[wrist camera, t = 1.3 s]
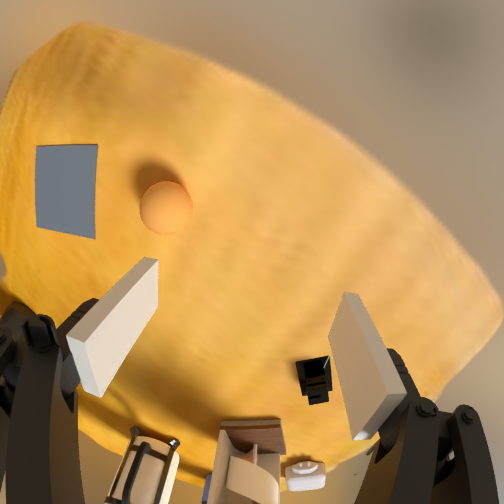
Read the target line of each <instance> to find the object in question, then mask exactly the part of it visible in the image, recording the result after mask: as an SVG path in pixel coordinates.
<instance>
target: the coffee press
mask: <svg viewBox="0 0 504 504" xmlns="http://www.w3.org/2000/svg"><path fill="white" fill-rule="evenodd" d="M134 429H135V431H136V433H137V435H138V436H136V437H135V431H134ZM130 430H131V436H132V438H131V440H130V442H129V444H128V446H127V448H126V451H125V453H124V456H123V458H122V461H121V463H120V466H119V468H118V471H117V473H116V476H115V478H114V481H113V483H112V486H111V488H110V491H109V493H108V496H107V497H106V498H105V501H104V504H168V502H169V498H170V494H171V490H172V486H173V482H174V479H175V475H176V471H177V467H178V464H179V461H180V456H179V454H178V453H177V451H176V449H177V447H178V446H179V445H180V442H179V441H178V440H176V439H173V440H171V441H170V442H169V443H167V444H166V443H164V442H162V441H159V440H157V439H154V438H150V437H145V436H142V435H141V433H140V431H139V428H138V427H132V428H131V429H130Z"/></svg>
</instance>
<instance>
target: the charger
mask: <svg viewBox="0 0 504 504" xmlns="http://www.w3.org/2000/svg"><path fill="white" fill-rule="evenodd" d="M325 475H326V473H325V464H324V463H321V462H318V463H315V462H311V461H306V462H299V463H297V464H295V465H291V466H288V467H286V468H285V479H286V483H287V486H288V490H290V491H301V490H311V489H318V488H322V487H323V486H324V484H325Z"/></svg>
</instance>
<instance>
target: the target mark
mask: <svg viewBox="0 0 504 504" xmlns="http://www.w3.org/2000/svg"><path fill="white" fill-rule="evenodd" d="M97 152H98V145H59V146H38V147H36V163H35V206H36V223H37V227H39V228H44V229H49V230H53V231H58V232H63V233H68V234H73V235H78V236H83V237H87V238H92V239H95V181H96V164H97Z"/></svg>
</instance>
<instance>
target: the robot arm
mask: <svg viewBox="0 0 504 504" xmlns="http://www.w3.org/2000/svg"><path fill="white" fill-rule="evenodd" d="M157 308H158V259H153V258H148V257H144V258H143V259H142V260H140V261H139V262H138V263H137V264H136V265H135V266H134V267H133V268H132V269H131V270H130V271H129V272H128V273H127V274H126V275H125V276H123V277H122V278H121V279H120V280H119V281H118V282H117V283H116V284H115V285H114V286H113V287H112V288H111V289H110V290H109V291H108V292H107V293H106V294H105V295H104V296H103V297H102V298H101V299H100V300H98V299H95V298H92V299H90V300H88V301H86V302H84V303H82V304H81V305H80V306H79V307H78V308H77V309H76V311H74V312H73V313H72V314H71V316H69V317H68V318H67V319H66V320H65V321H64V322H63V323H62V324H61V325H60V326H59V327H58V328H57V329H56V328H55V324H54V321H53V320H52V318H51V317H49V316H47V315H42V314H38V315H35V314H34V313H33V312H32V311H31V310H30V309H29V308H27V307H26V306H24V305H23V304H21V303H16V302H15V303H12V304H11V305H10V306H8V307H7V308H6V309H5V310H4V312H3V315H2V317H1V318H0V491H1V486H2V482H3V478H4V474H5V470H6V504H85V501H84V494H83V488H82V480H81V471H80V461H79V446H78V393H77V389H76V387H77V386H78V384H79V383H80V381H81V384H82V386H83V389H84V391H86V392H88V393H90V394H93V395H95V396H97V397H100V398H101V397H102V396H103V394H104V392H105V391H106V389H107V387H108V386H109V384H110V382H111V381H112V379H113V377H114V376H115V374H116V372H117V371H118V369H119V367H120V366H121V364H122V362H123V361H124V359H125V358H126V356H127V354H128V353H129V351H130V350H131V348H132V346H133V345H134V343H135V342H136V340H137V338H138V337H139V335H140V334H141V332H142V331H143V329H144V327H145V326H146V324H147V323H148V321H149V320H150V318H151V317H152V315H153V314H154V312H155V311H156V309H157ZM328 338H329V342H330V345H331V349H332V353H333V357H334V361H335V365H336V369H337V373H338V377H339V381H340V385H341V390H342V394H343V398H344V402H345V407H346V411H347V416H348V420H349V425H350V430H351V435H352V440H366V439H371V438H372V437H373V436H374V435H375V433H376V432H377V431H378V432H379V436H380V439H379V440H378V441H377V442H376V443H375V444H374V445H373V446H372V447H371V448H370V450H369V451H368V452H367V454H366V455H369V454H370V453H371V452H372V451H373V454H372V457H371V460H370V463H369V466H368V469H367V472H366V475H365V477H364V480H363V483H362V486H361V488H360V491H359V493H358V496H357V498H356V501H355V503H354V504H499V499H498V493H497V486H496V480H495V475H494V470H493V465H492V461H491V457H490V452H489V449H488V445H487V441H486V437H485V434H484V431H483V427H482V424H481V421H480V418H479V415H478V413H477V412H476V411H475V410H474V409H473V408H472V407H470V406H469V405H460V406H458V407H457V408H456V409H455V410H454V412H453V413H448V412H442V411H439V410H438V408H437V406H436V404H435V403H433V402H432V401H431V400H429V399H427V398H425V397H421V396H420V394H419V392H418V390H417V388H416V386H415V384H414V382H413V380H412V378H411V376H410V374H408V370H407V368H406V367H405V364H404V362H403V360H402V358H401V356H400V355H399V354H398V353H397V352H396V351H395V350H394V349H388V348H386V347H385V345H384V343H383V341H382V339H381V337H380V335H379V333H378V331H377V329H376V327H375V325H374V323H373V321H372V319H371V317H370V315H369V314H368V312H367V310H366V308H365V306H364V304H363V302H362V301H361V299H360V297H359V295H358V294H355V293H348V292H344V294H343V296H342V299H341V302H340V305H339V308H338V311H337V314H336V316H335V319H334V322H333V324H332V327H331V330H330V332H329V335H328ZM452 451H454V456H455V457H454V458H453V459H452V460H450V458H449V454H450V453H451V452H452Z"/></svg>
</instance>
